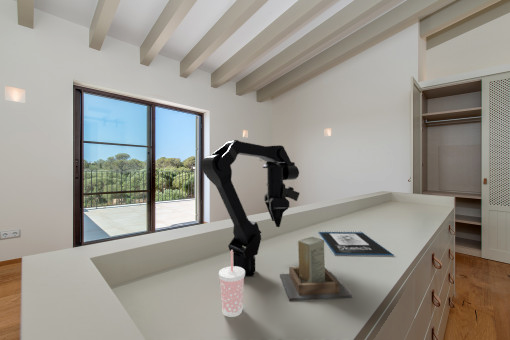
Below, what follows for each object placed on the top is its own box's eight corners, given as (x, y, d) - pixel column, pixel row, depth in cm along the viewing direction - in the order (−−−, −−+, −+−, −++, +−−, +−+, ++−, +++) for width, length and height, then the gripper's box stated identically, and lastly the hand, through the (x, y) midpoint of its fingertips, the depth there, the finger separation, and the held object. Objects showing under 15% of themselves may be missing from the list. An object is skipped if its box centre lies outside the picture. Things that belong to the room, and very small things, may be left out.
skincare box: (313, 277, 66) (313, 236, 66) (325, 283, 62) (325, 239, 62) (297, 283, 62) (297, 239, 62) (309, 290, 59) (309, 244, 59)
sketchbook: (334, 257, 84) (334, 252, 84) (317, 234, 114) (317, 230, 114) (394, 258, 83) (394, 252, 83) (361, 234, 113) (361, 230, 113)
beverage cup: (220, 303, 55) (219, 245, 55) (245, 302, 55) (244, 245, 55) (217, 319, 48) (216, 255, 49) (245, 318, 49) (245, 254, 49)
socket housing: (289, 300, 55) (289, 288, 55) (279, 276, 68) (279, 265, 68) (351, 297, 56) (351, 285, 56) (330, 273, 69) (330, 263, 69)
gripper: (304, 181, 72) (305, 230, 72) (291, 179, 91) (291, 217, 91) (270, 182, 71) (271, 231, 71) (263, 179, 90) (264, 218, 90)
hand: (275, 223), depth 81 cm, fingers open, 9 cm apart
